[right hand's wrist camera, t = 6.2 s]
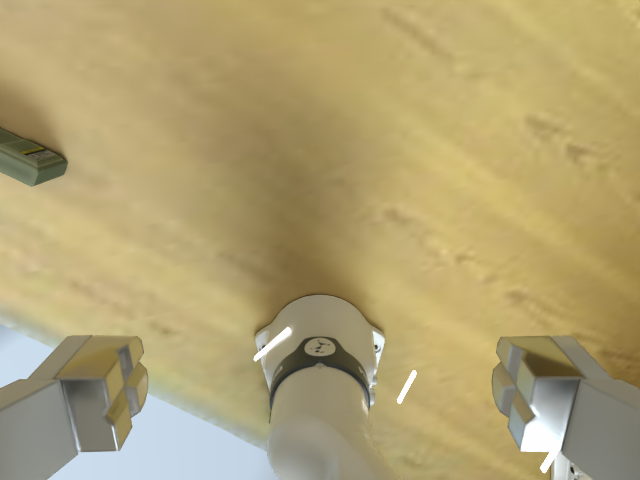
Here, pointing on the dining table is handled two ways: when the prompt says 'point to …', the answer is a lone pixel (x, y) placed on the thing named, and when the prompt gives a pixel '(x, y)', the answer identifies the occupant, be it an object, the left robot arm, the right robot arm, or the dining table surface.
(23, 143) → the handheld radio
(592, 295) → the dining table surface
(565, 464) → the left robot arm
